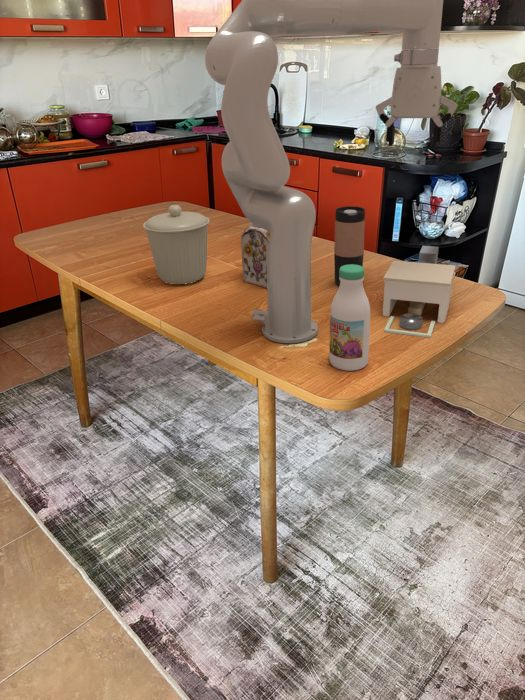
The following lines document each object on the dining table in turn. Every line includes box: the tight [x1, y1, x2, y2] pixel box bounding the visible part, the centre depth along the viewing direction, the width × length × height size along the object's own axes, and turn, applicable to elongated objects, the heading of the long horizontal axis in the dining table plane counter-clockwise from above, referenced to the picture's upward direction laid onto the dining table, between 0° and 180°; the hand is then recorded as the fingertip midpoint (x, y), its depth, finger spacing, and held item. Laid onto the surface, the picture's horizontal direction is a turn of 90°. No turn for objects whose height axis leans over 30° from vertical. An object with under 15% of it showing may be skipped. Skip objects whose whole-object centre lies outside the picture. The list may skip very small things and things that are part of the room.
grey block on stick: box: [407, 245, 439, 316], centre depth 138 cm, size 4×22×10 cm, turn 158°
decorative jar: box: [240, 222, 271, 289], centre depth 152 cm, size 12×12×18 cm
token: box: [398, 313, 424, 331], centre depth 126 cm, size 5×5×2 cm
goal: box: [383, 315, 436, 339], centre depth 126 cm, size 10×8×1 cm
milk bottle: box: [328, 264, 371, 372], centre depth 108 cm, size 8×8×20 cm
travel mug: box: [333, 205, 366, 288], centre depth 147 cm, size 8×8×20 cm
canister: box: [142, 204, 211, 285], centre depth 155 cm, size 18×18×21 cm
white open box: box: [382, 260, 456, 324], centre depth 132 cm, size 15×13×10 cm
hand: (412, 145), depth 125 cm, fingers open, 9 cm apart
